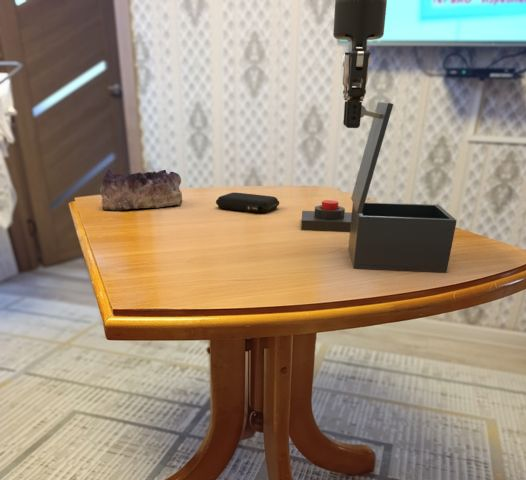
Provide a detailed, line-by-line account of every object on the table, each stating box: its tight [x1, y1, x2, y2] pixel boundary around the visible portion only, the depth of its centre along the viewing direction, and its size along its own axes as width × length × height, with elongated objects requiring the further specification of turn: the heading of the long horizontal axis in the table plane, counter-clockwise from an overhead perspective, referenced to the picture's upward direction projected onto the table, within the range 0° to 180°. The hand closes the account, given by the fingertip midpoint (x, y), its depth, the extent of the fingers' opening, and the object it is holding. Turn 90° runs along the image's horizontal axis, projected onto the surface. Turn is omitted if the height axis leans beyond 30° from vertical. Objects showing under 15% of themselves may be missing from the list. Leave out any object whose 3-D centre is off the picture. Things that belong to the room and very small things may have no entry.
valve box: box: [347, 201, 457, 274], centre depth 90 cm, size 16×13×9 cm
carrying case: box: [215, 192, 280, 214], centre depth 127 cm, size 11×3×15 cm
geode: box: [99, 169, 183, 212], centre depth 126 cm, size 20×12×10 cm, turn 125°
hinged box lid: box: [350, 101, 394, 214], centre depth 84 cm, size 16×13×5 cm
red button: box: [321, 199, 339, 210], centre depth 112 cm, size 4×4×2 cm
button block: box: [300, 204, 352, 233], centre depth 113 cm, size 12×10×4 cm
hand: (351, 126), depth 82 cm, fingers closed on hinged box lid, 5 cm apart
